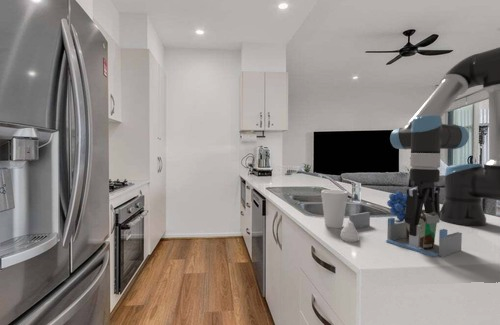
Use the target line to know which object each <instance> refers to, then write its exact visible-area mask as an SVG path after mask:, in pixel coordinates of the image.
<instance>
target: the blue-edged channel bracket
mask: <svg viewBox="0 0 500 325" xmlns="http://www.w3.org/2000/svg"><path fill="white" fill-rule="evenodd" d="M370 220H371V212H370V211H365V212H360V213H353V214H349V220H348V221H351V222H353V224H354V227H355V228H356V229H360V228H364V227H370V223H371V222H370ZM438 236H439V237H438V238H439V240H438V253H436V252H433V251H430V250H424V249H421V248H417V247H414V246H410V245H409V244H407V243H403V242H399V241H398V240H400V239H404V238H406V222H405V221H404V220H403V221H399V222H398V221H397V222H396V219H395V217H387V237H386V240H385V241H386V243H389V244H391V245H395V246H398V247H401V248H402V247H403V248H405V249H408V250H411V251H414V252H417V253H421V254H424V255H427V256H431V257H434V258H437V257H442V258H443V257H446V256H449V255H452V254H455V253H458V252H461V251H462V243H463V242H462V241H463V240H462V239H463V237H462V236H463V233H462V232H459V231H456V232H452V233H450V234H448V229H445V228H442V229H441V228H440V229H439V235H438ZM396 240H397V241H396Z"/></svg>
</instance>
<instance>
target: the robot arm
mask: <svg viewBox="0 0 500 325" xmlns="http://www.w3.org/2000/svg"><path fill="white" fill-rule="evenodd" d="M438 84H439V85H438V86H437V87H436V89H435V90H434V91H433V92H432V94H431V95H430V96H429V97H428V98H427V99H426V100H425V102H424V103H423V104H422V105H421V107H420V108H419V109H418V110H417V112H416V113H415V114H414V115H413V116H412V117H411V118H410V120H409V121H408V122H407V123H406V125H405V126H404V127H399V128H396V129H393V131H391V133H390V137H389V140H390V144H391V146H392V147H393V148H395V149H397V150H410V157H409V160H410V161H409V162H410V165H409V166H410V167H412V168H410V169H409V180H410V181H411V182H413V184H412V185H413V186H412V188H406V194H407V202H406V211H405V219H404V220H403V221H405V222H406V223H408V224H409V225H410V227H409V241H408V245H410V246H414V247H417V248H420V225H418V224H419V220H420V216H421V212H422V209H423V208H424V210H425V213H432V212H435V213H437V214H438V216H439V220H441V221H443V222H447V223H451V224H456V225H462V226H473V227H474V226H476V227H477V226H486V224H487V217H486V215H485V211H484V209H483V207H482V199H489V200H497V201H500V47H499V46H498V47H496V48H493V49H490V50H486V51H482V52H479V53H475V54H474V53H473V54H471V55H470V56H468V57H467V56H466V58H464V59H462V60H461V61H459V62H457V64H455V65H454V66H453V67H451V68H450V69H449V70H448V71H447V72H446V73H445V74H444V75H443V76H442V77H441V78H440V80H439V82H438ZM477 86H482V89H483V91H486V93H488V148H489V149H488V151H489V152H488V160H486V161H485V162H484V163H483V164H482V163H467V164H466V163H465V164H453V165H452V164H451V165H449V166H447V167H446V169H445V175H444V201H443V203H442V205H441V206H440V192H441V187H439V186H435V183H439V182H440V178H441V177H440V176H441V175H440V174H441V173H440V172H441V170H439V169H438V168H440V167H441V150H455V149H461V148H463V147H465V145H466V144H467V143H468V142H469V139H470V135H469V134H470V133H469V131H468V130H467V129H466V128H465V127H464V126H462V125H458V124H448V123H447V124H444V123H443V122H442V117H443V116H444V114H445V113H446V112H447V111H448V110H449V108H450V107H451V106H452V104H453V103H454V102H455V101H456V99H457V98H458V97H459V96H461V95H463V94H465V93H466V92H467V91H468V89H470V88H475V87H477ZM440 207H441V208H440ZM435 240H436V239H435ZM435 240H434V244H435ZM420 249H421V248H420Z"/></svg>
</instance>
